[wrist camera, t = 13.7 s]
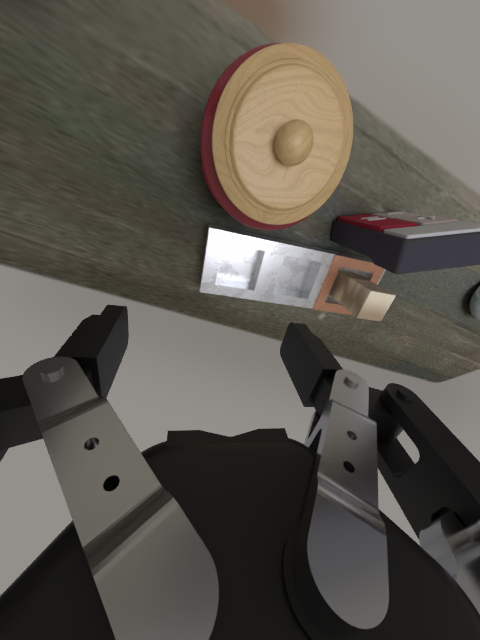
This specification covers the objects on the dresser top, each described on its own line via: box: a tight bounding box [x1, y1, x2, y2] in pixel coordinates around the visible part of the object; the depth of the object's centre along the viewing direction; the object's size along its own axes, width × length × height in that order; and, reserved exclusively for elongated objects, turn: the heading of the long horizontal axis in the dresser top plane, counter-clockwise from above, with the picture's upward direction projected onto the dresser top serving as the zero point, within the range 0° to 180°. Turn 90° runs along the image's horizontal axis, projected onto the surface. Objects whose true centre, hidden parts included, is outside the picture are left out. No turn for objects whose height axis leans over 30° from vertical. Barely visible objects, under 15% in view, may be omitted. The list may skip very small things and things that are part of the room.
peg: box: [329, 269, 396, 321], centre depth 35 cm, size 4×4×10 cm
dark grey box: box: [331, 211, 480, 274], centre depth 30 cm, size 11×4×15 cm, turn 94°
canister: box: [200, 43, 353, 230], centre depth 23 cm, size 13×13×18 cm
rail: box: [200, 224, 386, 315], centre depth 37 cm, size 9×28×4 cm, turn 77°
